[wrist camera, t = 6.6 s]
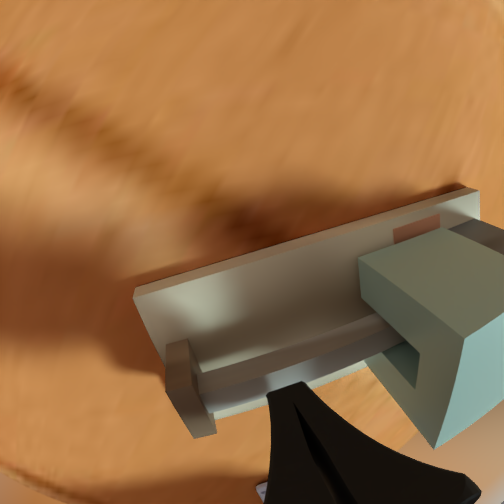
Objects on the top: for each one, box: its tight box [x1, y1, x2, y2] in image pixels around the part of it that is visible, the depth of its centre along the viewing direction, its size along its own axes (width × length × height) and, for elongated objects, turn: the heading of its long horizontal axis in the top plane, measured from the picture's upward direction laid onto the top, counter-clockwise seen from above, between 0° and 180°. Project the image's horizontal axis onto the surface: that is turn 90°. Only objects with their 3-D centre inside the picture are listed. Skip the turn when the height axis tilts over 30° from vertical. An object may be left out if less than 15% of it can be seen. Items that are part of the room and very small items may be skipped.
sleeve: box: [358, 227, 504, 449], centre depth 12 cm, size 6×5×6 cm
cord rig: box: [133, 187, 504, 439], centre depth 13 cm, size 8×18×6 cm, turn 103°
